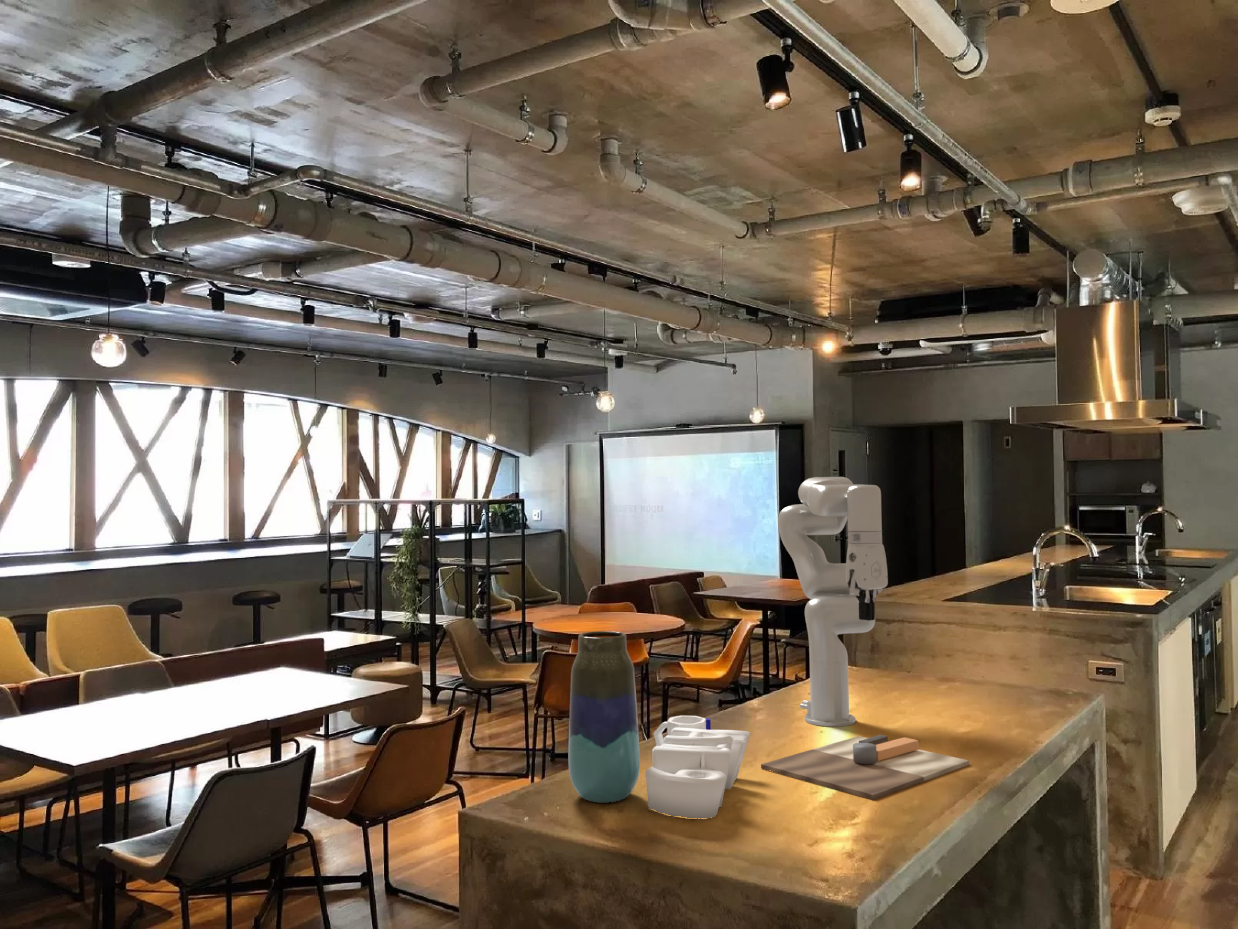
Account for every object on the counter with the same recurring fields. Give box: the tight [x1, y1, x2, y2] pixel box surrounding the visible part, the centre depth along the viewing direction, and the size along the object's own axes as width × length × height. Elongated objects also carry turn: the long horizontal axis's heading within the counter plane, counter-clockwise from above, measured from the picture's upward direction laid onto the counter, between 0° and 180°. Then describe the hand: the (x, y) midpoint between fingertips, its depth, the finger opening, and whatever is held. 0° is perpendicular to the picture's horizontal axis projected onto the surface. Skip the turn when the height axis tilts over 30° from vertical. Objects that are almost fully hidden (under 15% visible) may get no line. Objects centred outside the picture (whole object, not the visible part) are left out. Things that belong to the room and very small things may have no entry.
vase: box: [567, 630, 641, 804], centre depth 184 cm, size 14×14×31 cm
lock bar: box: [853, 736, 920, 764], centre depth 204 cm, size 18×5×3 cm, turn 127°
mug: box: [653, 715, 706, 746], centre depth 204 cm, size 12×9×10 cm
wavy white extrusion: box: [645, 728, 751, 819], centre depth 184 cm, size 35×16×11 cm, turn 160°
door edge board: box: [760, 734, 970, 801], centre depth 200 cm, size 28×34×3 cm
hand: (866, 619), depth 216 cm, fingers closed
